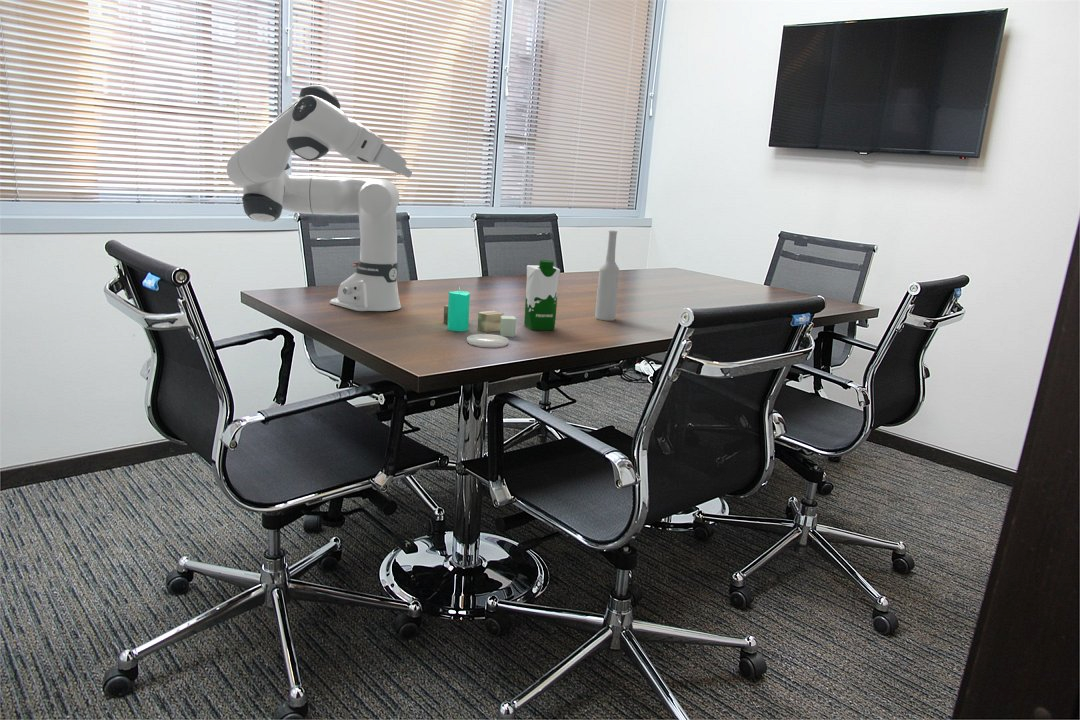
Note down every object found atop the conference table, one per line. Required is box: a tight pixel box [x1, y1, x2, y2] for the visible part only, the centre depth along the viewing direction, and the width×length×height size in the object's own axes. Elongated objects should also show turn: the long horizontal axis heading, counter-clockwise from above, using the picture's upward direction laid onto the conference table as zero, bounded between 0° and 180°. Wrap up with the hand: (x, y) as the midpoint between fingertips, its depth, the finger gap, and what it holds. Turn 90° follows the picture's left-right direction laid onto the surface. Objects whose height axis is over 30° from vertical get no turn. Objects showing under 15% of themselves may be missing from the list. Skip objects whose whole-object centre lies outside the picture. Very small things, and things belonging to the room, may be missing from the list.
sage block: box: [499, 315, 517, 338], centre depth 213 cm, size 4×4×5 cm
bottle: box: [594, 230, 621, 322], centre depth 242 cm, size 7×7×28 cm
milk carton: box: [523, 259, 561, 331], centre depth 223 cm, size 9×9×20 cm
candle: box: [447, 286, 471, 332], centre depth 215 cm, size 6×6×12 cm
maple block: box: [476, 310, 504, 333], centre depth 218 cm, size 4×6×5 cm, turn 132°
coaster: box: [466, 333, 509, 349], centre depth 203 cm, size 11×11×1 cm
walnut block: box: [443, 304, 448, 324], centre depth 225 cm, size 5×5×5 cm
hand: (400, 171), depth 196 cm, fingers open, 8 cm apart
